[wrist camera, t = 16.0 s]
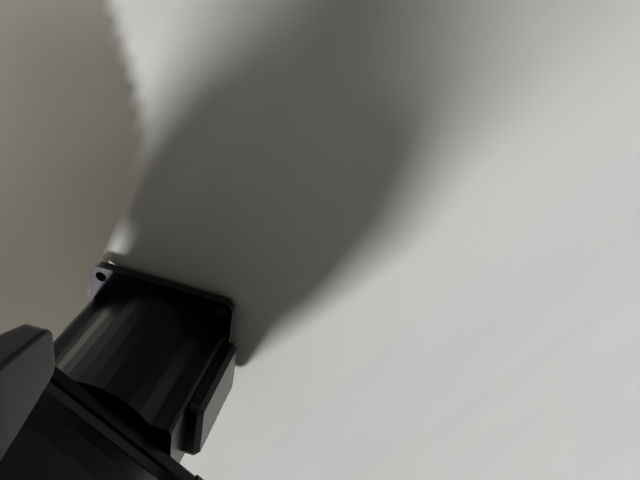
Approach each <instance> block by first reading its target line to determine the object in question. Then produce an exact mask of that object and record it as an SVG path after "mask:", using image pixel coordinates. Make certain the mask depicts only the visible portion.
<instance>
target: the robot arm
mask: <svg viewBox="0 0 640 480" xmlns="http://www.w3.org/2000/svg"><path fill="white" fill-rule="evenodd" d="M101 272H102V273H104V274H105V275H106V276H104V275H103V274H102V273H101ZM90 276H91V301H90V302H89V303H88V304H87V305H86V306H85V307H84V308H83V309H82V310H81V311H80V313H79V314H78V315H77V316H76V317H75V318H74V319H73V320H72V321H71V322H70V323H69V325H68V326H67V327H66V328H65V329H64V330H63V331H62V332H61V333H60V334H59V335H58V337H57V338H56V339H55V340H54V341H53V338H52V333H51V332H50V330H48V329H46V328H42V327H39V326H36V325H33V324H24V325H21V326H18V327H16V328H14V329H11V330H9V331H7V332H5V333H2V334H0V480H203V479H202V478H201V477H200V476H198V475H196V476H194V475H193V474H192V473H191V472H189V471H188V470H187V469H186V468H184V467H183V466H182V465H180V464H179V463H180V461H181V459H182V457H183V455H184V453H188V454H191V455H195V454H197V453H199V452H200V451H201V449H202V447H203V445H204V443H205V441H206V439H207V437H208V435H209V433H210V431H211V428H212V426H213V424H214V422H215V420H216V418H217V416H218V414H219V412H220V410H221V408H222V406H223V404H224V402H225V400H226V398H227V395H228V393H229V391H230V389H231V387H232V382H233V375H234V368H235V361H236V354H237V348H236V346H235V344H234V343H232V342H231V339H232V331H233V323H234V316H235V305H234V303H233V302H232V301H231V300H230V299H228V298H226V297H223V296H219V295H216V294H212V293H209V292H206V291H202V290H199V289H195V288H192V287H188V286H185V285H181V284H178V283H175V282H171V281H168V280H164V279H161V278H157V277H154V276H150V275H147V274H143V273H140V272H137V271H133V270H130V269H126V268H123V267H119V266H116V265H112V264H109V263H105V262H100V263H98V264H97V265H96V266H95V267H94V268H93V269H92V270H91V273H90ZM219 307H222V308H224V309H225V310H226V311H223V310H221V309H220V308H219Z"/></svg>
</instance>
